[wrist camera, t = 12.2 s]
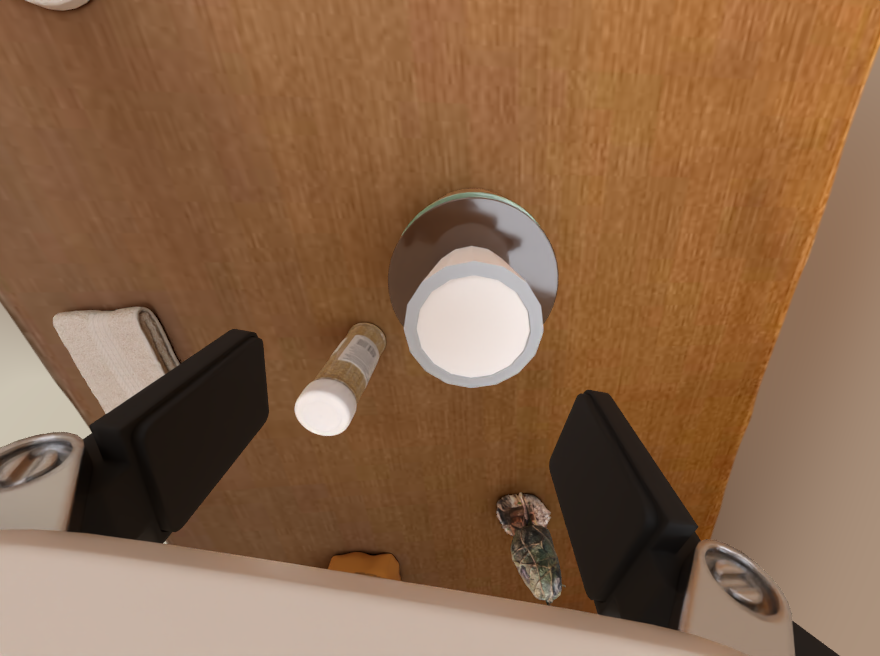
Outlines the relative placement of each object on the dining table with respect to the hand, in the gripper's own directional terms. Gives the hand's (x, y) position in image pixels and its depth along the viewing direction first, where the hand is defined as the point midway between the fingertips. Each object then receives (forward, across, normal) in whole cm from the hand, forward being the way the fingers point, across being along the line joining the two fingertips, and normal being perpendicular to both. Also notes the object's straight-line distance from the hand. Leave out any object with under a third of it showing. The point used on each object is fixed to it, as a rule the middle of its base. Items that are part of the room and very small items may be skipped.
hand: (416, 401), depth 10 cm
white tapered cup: (+14, -2, +1) cm, 14 cm away
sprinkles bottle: (+25, +7, +12) cm, 29 cm away
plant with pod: (+25, -17, +36) cm, 47 cm away
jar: (+25, -2, +1) cm, 25 cm away
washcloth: (+26, +36, +23) cm, 50 cm away
